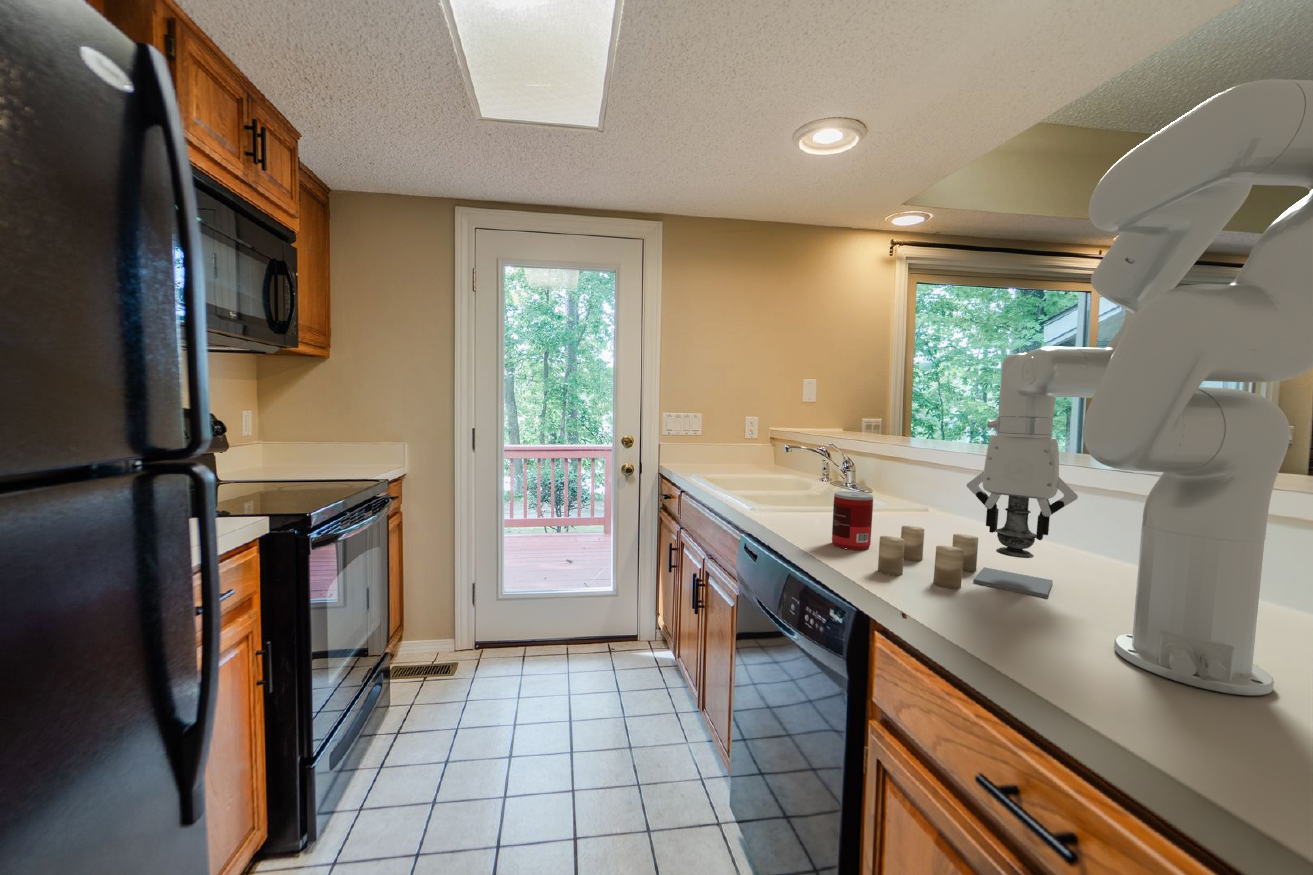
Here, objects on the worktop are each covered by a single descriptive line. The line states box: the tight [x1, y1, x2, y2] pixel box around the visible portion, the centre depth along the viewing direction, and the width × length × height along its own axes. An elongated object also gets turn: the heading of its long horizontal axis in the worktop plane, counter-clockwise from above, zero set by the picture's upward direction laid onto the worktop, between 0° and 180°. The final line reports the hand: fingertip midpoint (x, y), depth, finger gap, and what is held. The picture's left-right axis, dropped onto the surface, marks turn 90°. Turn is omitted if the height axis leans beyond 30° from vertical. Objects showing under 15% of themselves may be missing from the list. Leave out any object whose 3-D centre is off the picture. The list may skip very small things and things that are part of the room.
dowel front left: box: [877, 535, 905, 577], centre depth 92 cm, size 4×4×6 cm
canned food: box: [831, 490, 874, 551], centre depth 110 cm, size 8×8×11 cm
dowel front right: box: [933, 545, 964, 590], centre depth 86 cm, size 4×4×6 cm
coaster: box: [972, 566, 1053, 599], centre depth 88 cm, size 10×10×1 cm
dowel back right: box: [951, 533, 979, 573], centre depth 96 cm, size 4×4×6 cm
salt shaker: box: [995, 496, 1037, 559], centre depth 88 cm, size 6×6×12 cm
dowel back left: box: [900, 525, 925, 562], centre depth 102 cm, size 4×4×6 cm
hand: (1015, 533), depth 88 cm, fingers closed on salt shaker, 5 cm apart
